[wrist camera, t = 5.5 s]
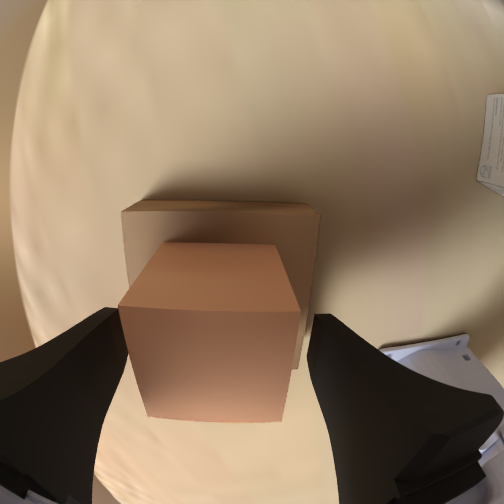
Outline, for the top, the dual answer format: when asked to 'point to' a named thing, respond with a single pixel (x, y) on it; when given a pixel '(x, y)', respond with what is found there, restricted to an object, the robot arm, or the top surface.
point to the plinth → (228, 236)
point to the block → (212, 332)
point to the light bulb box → (493, 145)
